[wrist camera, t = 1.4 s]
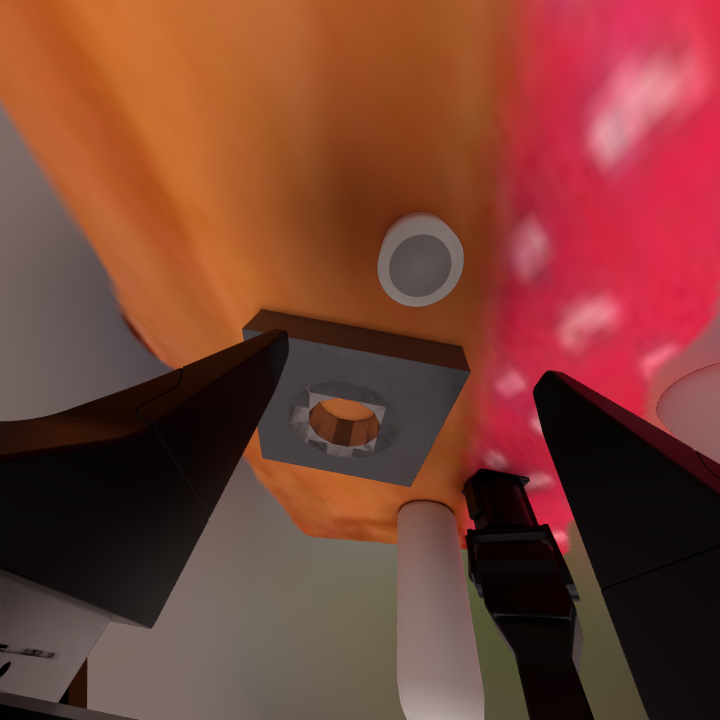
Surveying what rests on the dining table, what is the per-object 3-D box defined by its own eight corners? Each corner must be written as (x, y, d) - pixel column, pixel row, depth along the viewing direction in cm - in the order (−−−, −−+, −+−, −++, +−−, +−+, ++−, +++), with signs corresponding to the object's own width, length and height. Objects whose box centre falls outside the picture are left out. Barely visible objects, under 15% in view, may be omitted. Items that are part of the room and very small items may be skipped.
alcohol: (436, 493, 37) (504, 1080, 13) (464, 519, 41) (559, 1021, 17) (386, 505, 41) (369, 974, 17) (416, 528, 45) (436, 943, 21)
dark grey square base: (461, 347, 22) (470, 371, 20) (409, 460, 33) (410, 487, 30) (261, 309, 23) (242, 328, 20) (273, 434, 33) (262, 458, 31)
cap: (463, 218, 17) (479, 229, 14) (438, 290, 20) (446, 313, 17) (389, 205, 17) (386, 212, 14) (375, 278, 20) (371, 299, 17)
